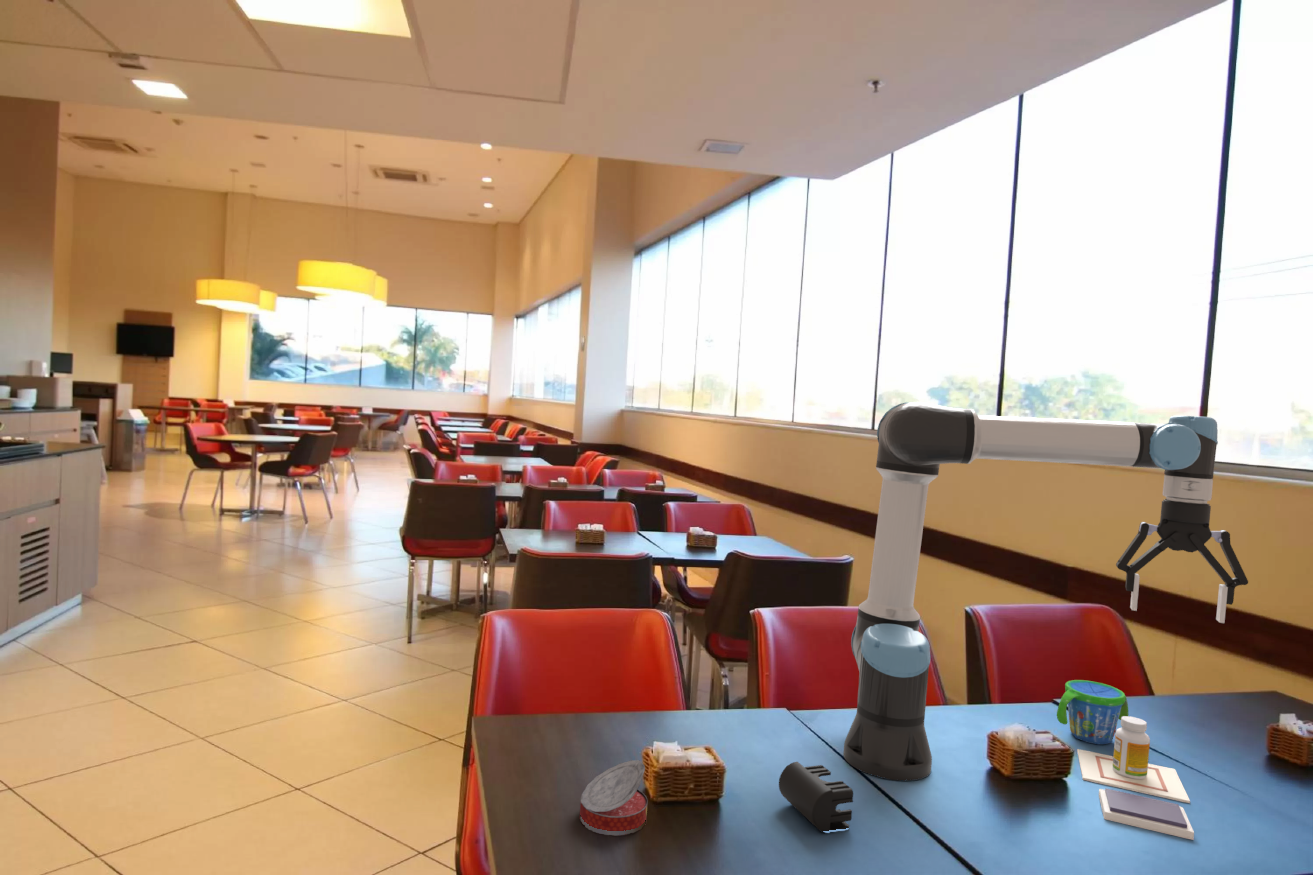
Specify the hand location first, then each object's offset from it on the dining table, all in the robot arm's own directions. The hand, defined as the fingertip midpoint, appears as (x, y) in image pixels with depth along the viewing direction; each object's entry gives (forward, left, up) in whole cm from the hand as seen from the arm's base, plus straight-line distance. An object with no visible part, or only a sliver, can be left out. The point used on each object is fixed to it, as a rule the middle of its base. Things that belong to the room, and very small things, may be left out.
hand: (1175, 615), depth 148 cm
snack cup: (-11, +9, -29) cm, 32 cm away
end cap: (-53, -53, -29) cm, 80 cm away
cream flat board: (-6, -7, -29) cm, 30 cm away
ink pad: (-6, -24, -29) cm, 38 cm away
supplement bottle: (-6, -7, -28) cm, 30 cm away
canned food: (-79, -69, -29) cm, 109 cm away
